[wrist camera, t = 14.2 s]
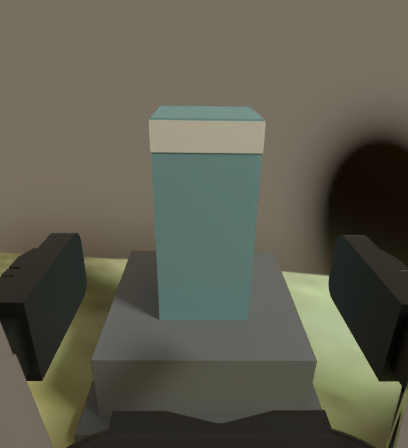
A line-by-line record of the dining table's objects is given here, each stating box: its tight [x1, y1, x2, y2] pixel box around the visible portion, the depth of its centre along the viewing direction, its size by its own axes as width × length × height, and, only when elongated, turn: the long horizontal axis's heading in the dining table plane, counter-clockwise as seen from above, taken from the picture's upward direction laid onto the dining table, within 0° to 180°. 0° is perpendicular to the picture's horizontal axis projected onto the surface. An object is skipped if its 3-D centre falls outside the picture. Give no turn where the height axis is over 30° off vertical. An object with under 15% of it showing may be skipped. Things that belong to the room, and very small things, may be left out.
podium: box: [75, 251, 322, 442], centre depth 23 cm, size 13×13×5 cm
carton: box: [149, 106, 266, 320], centre depth 20 cm, size 5×5×11 cm
